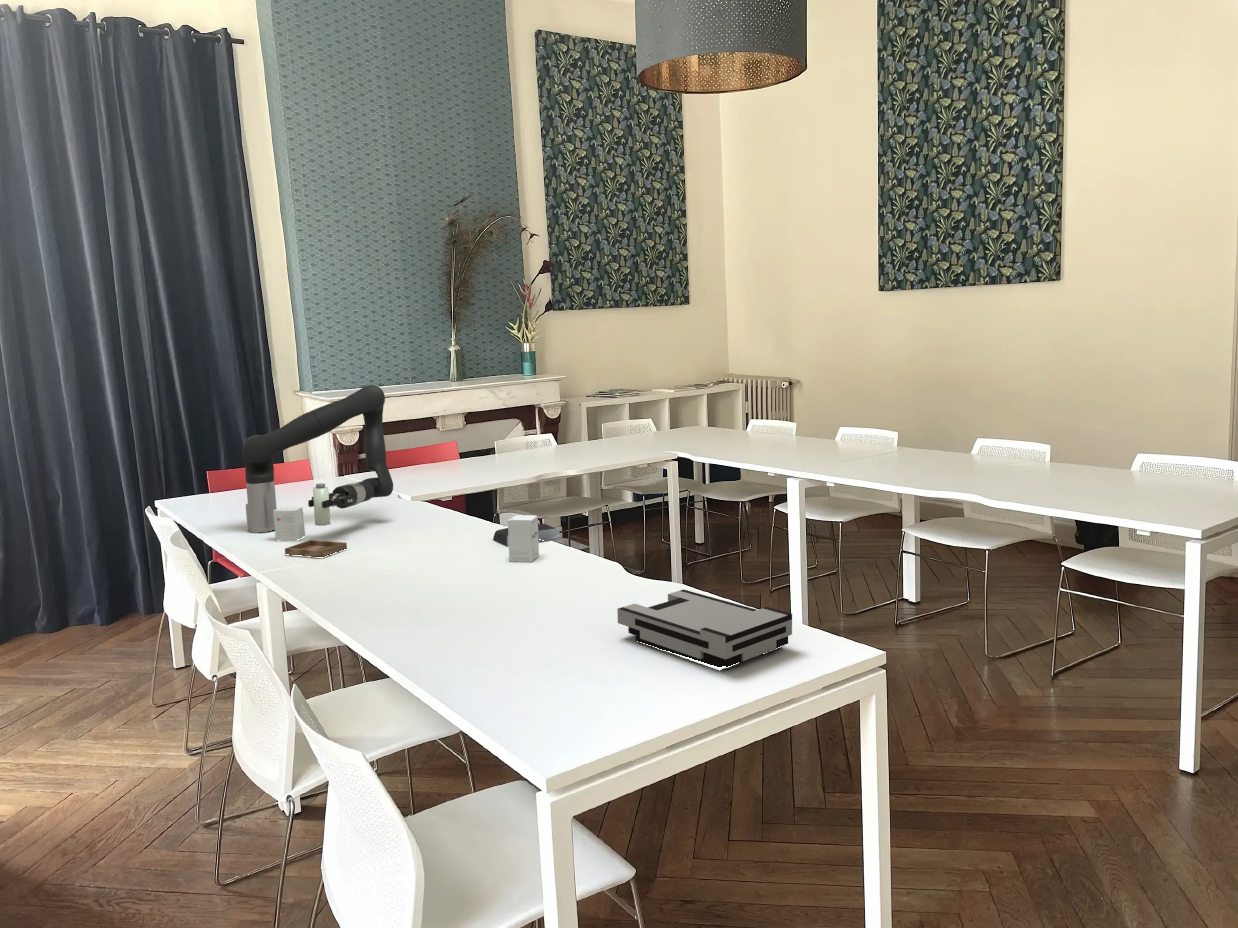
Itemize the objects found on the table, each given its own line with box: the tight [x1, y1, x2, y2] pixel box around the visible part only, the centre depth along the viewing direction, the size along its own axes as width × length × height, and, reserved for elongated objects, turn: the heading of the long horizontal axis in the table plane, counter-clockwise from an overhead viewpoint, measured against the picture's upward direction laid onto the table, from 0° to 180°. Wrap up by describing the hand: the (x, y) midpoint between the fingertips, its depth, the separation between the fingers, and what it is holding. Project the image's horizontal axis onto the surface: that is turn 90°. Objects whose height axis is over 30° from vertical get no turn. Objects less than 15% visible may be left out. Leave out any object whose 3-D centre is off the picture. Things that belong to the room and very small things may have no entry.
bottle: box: [312, 482, 331, 527], centre depth 308 cm, size 5×5×13 cm
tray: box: [284, 539, 348, 557], centre depth 297 cm, size 14×12×2 cm
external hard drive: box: [492, 523, 563, 548], centre depth 308 cm, size 13×19×4 cm
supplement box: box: [507, 514, 540, 563], centre depth 282 cm, size 7×7×13 cm
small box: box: [273, 506, 306, 541], centre depth 316 cm, size 8×6×10 cm
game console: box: [616, 589, 793, 667], centre depth 205 cm, size 21×32×8 cm, turn 42°
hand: (316, 504), depth 306 cm, fingers closed on bottle, 4 cm apart
